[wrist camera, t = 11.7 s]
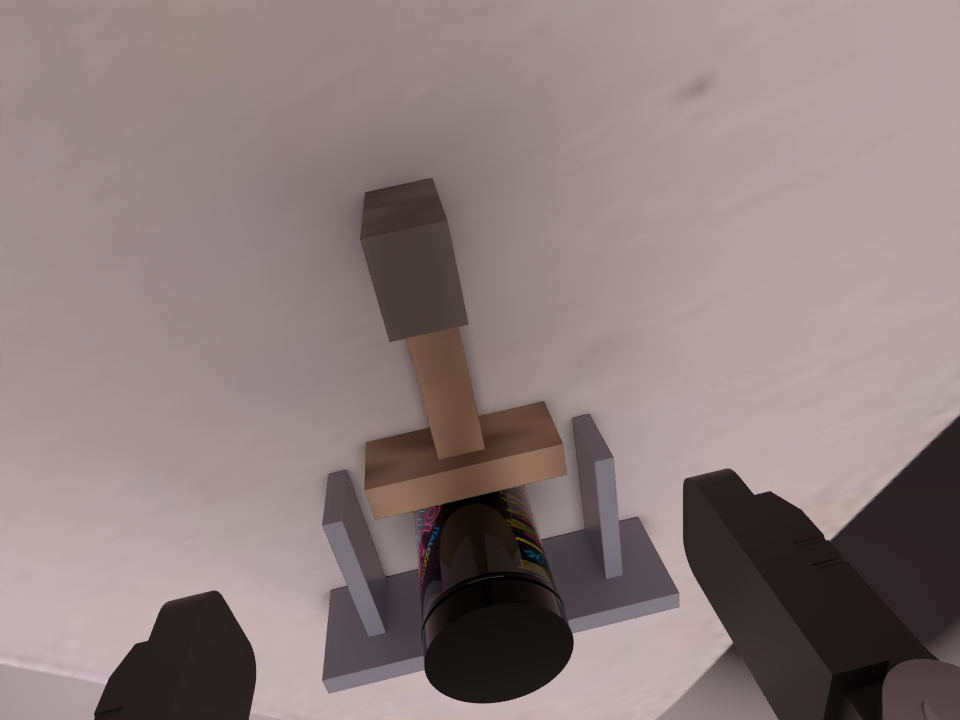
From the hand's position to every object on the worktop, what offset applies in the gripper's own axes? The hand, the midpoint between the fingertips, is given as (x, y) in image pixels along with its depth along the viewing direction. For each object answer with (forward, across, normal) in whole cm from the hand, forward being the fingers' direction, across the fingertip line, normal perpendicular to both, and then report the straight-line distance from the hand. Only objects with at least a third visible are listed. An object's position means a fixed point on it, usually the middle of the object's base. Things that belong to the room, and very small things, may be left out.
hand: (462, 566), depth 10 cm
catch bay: (+20, 0, +17) cm, 26 cm away
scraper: (+20, 0, +5) cm, 20 cm away
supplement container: (+20, 0, +16) cm, 26 cm away
